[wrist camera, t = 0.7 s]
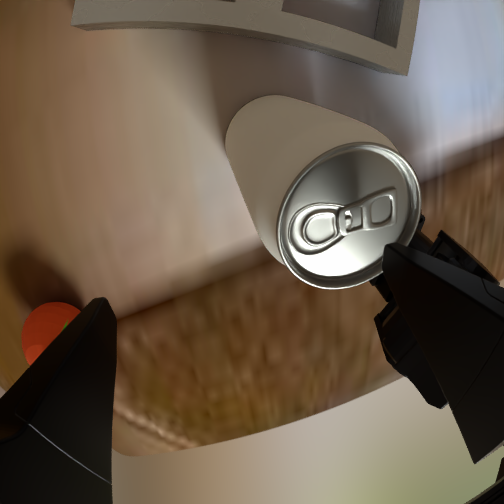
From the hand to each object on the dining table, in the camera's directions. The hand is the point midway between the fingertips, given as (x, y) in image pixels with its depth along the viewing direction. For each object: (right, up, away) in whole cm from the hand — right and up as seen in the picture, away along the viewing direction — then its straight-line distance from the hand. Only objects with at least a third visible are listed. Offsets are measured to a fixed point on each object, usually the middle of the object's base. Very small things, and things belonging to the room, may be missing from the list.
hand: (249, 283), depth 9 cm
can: (+1, +8, +11) cm, 14 cm away
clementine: (-16, -4, +15) cm, 23 cm away
